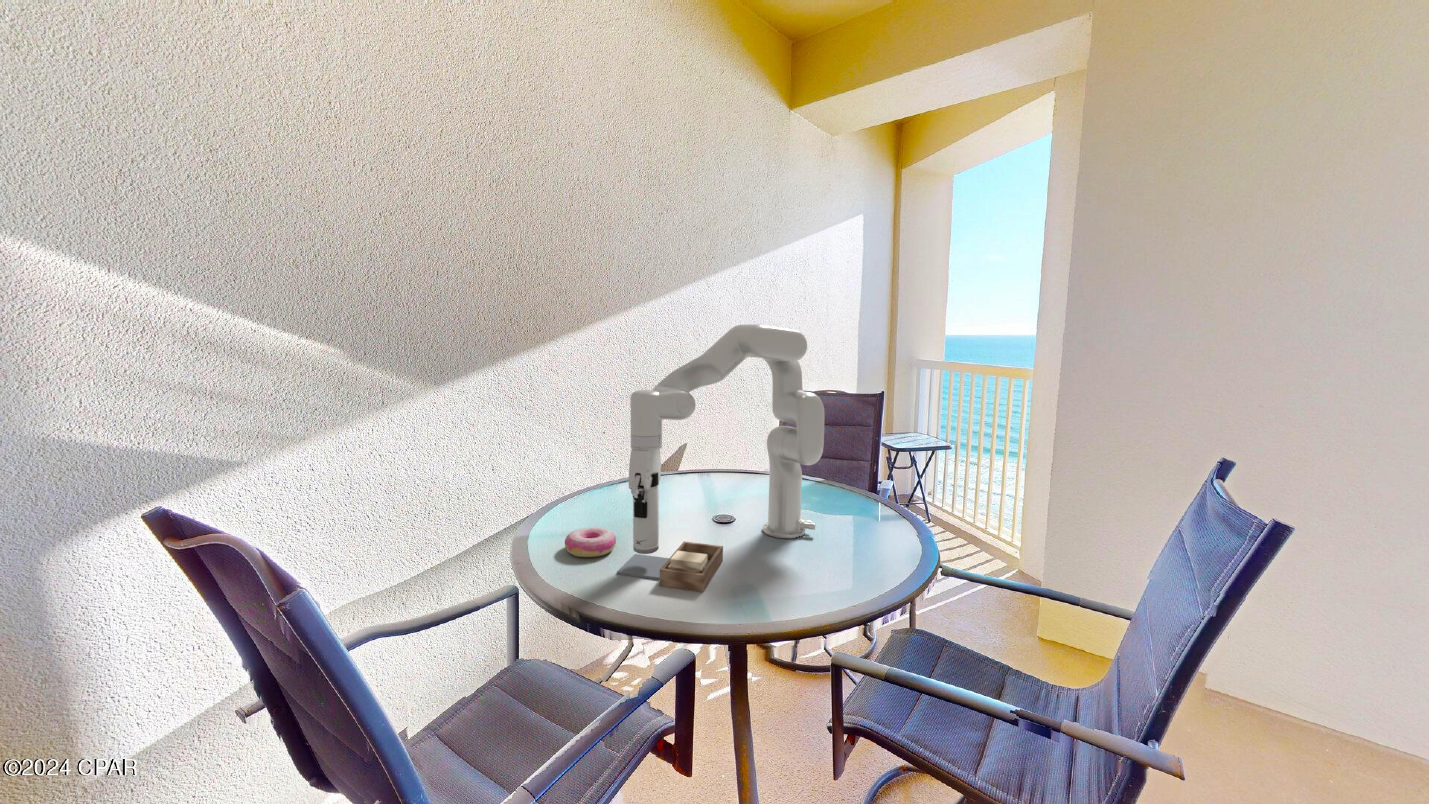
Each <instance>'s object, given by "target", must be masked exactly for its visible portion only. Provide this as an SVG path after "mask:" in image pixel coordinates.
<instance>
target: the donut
mask: <svg viewBox="0 0 1429 804" xmlns="http://www.w3.org/2000/svg"><path fill="white" fill-rule="evenodd" d="M616 544H617V537H616V535H615V533H614V532H613V531H612V530H610V529H608V528H605V527H600V526H599V527H598V526H595V527H594V526H593V527H590V526H589V527H584V528H579V529H575V530H573V531H571V532H570V533H568V534H567V535H566V537H565V539H564V546H565V549H566V551H567V552H568V553H569V554H571V555H573V556H574V557H580V558H595V557H602V556H605V555H607V554H609V553H610V552H611V551H613V549H614V548H615V546H616Z"/></svg>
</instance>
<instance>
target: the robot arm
mask: <svg viewBox="0 0 1429 804" xmlns="http://www.w3.org/2000/svg"><path fill="white" fill-rule="evenodd" d="M807 351H808V342H807V338H806V337H805V335H804V334H803V333H802V332H801V331H799V330H796V329H792V328H791V329H790V328H782V327H777V326H769V325H766V324H737V325H735V326H733V327H731V329H729V330H728V331H726V333H725V334H723V335H722V336H721V337H720V338H718V339H717V341H716V342H715V343H713V345H711V347H709V348H707V350H706V351H704V352H703V353H702V354H701V355H700V356H698V357H696V358H694V359H691V361H690V360H689V362H687V363H685V364H683V365H681V366H680V367H677V368H676V369H674V370H673V371H671V372H670V373H669V374H668V375H666V376H665V377H664V378H662V380H660V382H659V383H657V384H656V385H655V386H654V387H653V388H652V390H650V389H646V390H645V389H643V390H640V389H639V390H635V391H633V392H631V395H630V403H629V404H630V406H629V407H630V449H631V450H630V455H629V462H628V463H629V465H628V489H630V494H631V495H632V502H633V501H634V517H637V518H647V502H646V496H647V490H649V489H650V488H651V484H652V479H653V477H651V475H652V474H657V473H658V484H659V485H660V481H661V477H662V476H661V475H662V465H661V463H662V462H661V449H662V448H663V447H662V446H663V444H662V443H663V439H662V438H663V434H662V433H663V426H662V425H663V420H670V421H682V420H686V419H688V418H690V417H691V416H692V415H693V413H694V412H695V410H696V400H695V398H694V396H693V395H692V394H691V393H690V392H692V391H694V390H696V389H699V388H701V387H706V386H710V385H714V384H717V383H719V382H721V381H723V380H726V378H727V377H728V376H729V375H730V374H731V373H732V372H733V371H734V370H735V369H736V368H738V366H739V365H741V363H743V362H744V361H745V360H746V359H748V358H758V359H763V360H764V361H765V362H766V364H767V365H768V367H769V369H770V372H771V377H772V380H771V381H772V396H771V397H772V401H771V402H772V404H771V407H772V414H773V416H774V418H775V419H776V420H779V422H780V421H781V422H785V423H788V424H792V425H795V426H796V427H794V426H789V425H779V426H778V425H777V426H776V427H773V429H771V430H770V431H769V434H767V439H766V449H767V455H768V456H767V457H768V463H769V475H768V476H769V480H768V481H769V482H768V483H769V484H768V510H767V512H768V515H767V518H768V519H767V522H765V523H764V524H763V525H762V531H763V532H764V534H766V535H767V536H770V537H774V538H777V539H795V538H796V537H797V538H800V537H802V536H804V535H805V534H804V533H806V530H811V531H812V530H813V531H815V530H816V523H815V522H813V521H812V520H805V519H804V518H803V514H801V512H802V508H801V507H802V483H803V472H802V466H801V465H805V466H812V465H815V464H817V463H818V462H819V461H820V459H821V457H822V456H823V452H824V447H825V446H824V443H825V417H826V416H825V407H824V403H823V401H822V399H821V397H819V396H818V394H815V393H813V392H809V391H804V389H803V373H802V372H803V371H802V367H801V365H800V362H799V361H800V360H801V359H802V358H804V356H805V355H806V352H807ZM640 486H644V488H643V489H639V487H640ZM639 491H640V492H643V496H642V495H641V493H639ZM799 536H800V537H799ZM797 538H796V539H797Z"/></svg>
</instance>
